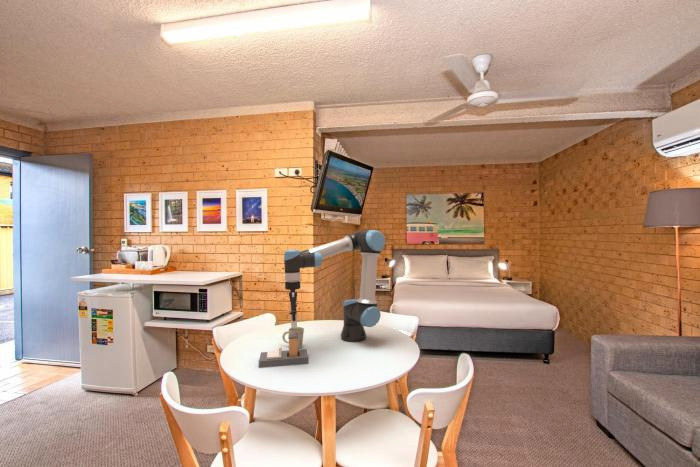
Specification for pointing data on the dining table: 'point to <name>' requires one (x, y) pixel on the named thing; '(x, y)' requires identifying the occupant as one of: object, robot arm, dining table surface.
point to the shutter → (275, 353)
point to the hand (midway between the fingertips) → (293, 323)
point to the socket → (284, 359)
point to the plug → (293, 345)
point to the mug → (299, 332)
